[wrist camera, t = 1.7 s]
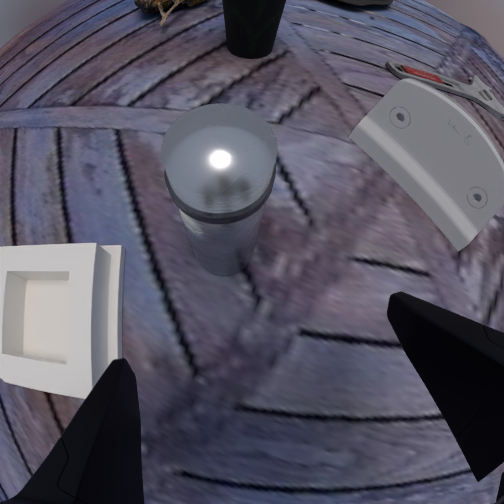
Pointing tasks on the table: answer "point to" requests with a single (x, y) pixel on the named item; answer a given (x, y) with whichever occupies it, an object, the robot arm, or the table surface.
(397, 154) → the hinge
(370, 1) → the casserole
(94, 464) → the robot arm
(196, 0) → the seed pod
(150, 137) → the table surface
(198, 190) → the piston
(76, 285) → the white square hollow block
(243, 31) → the cup
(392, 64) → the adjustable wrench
